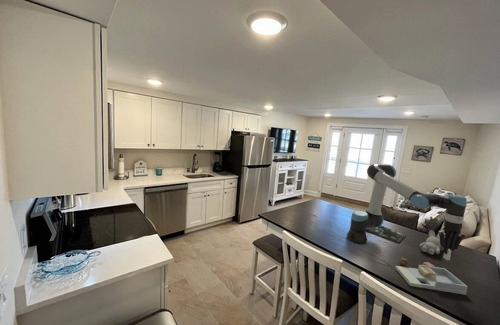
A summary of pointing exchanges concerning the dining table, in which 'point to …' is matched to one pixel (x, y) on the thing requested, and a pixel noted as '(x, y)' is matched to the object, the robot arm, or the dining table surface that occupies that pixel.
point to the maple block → (427, 272)
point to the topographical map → (386, 233)
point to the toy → (431, 244)
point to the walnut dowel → (403, 262)
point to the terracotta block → (428, 264)
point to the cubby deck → (433, 279)
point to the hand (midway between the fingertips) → (446, 258)
